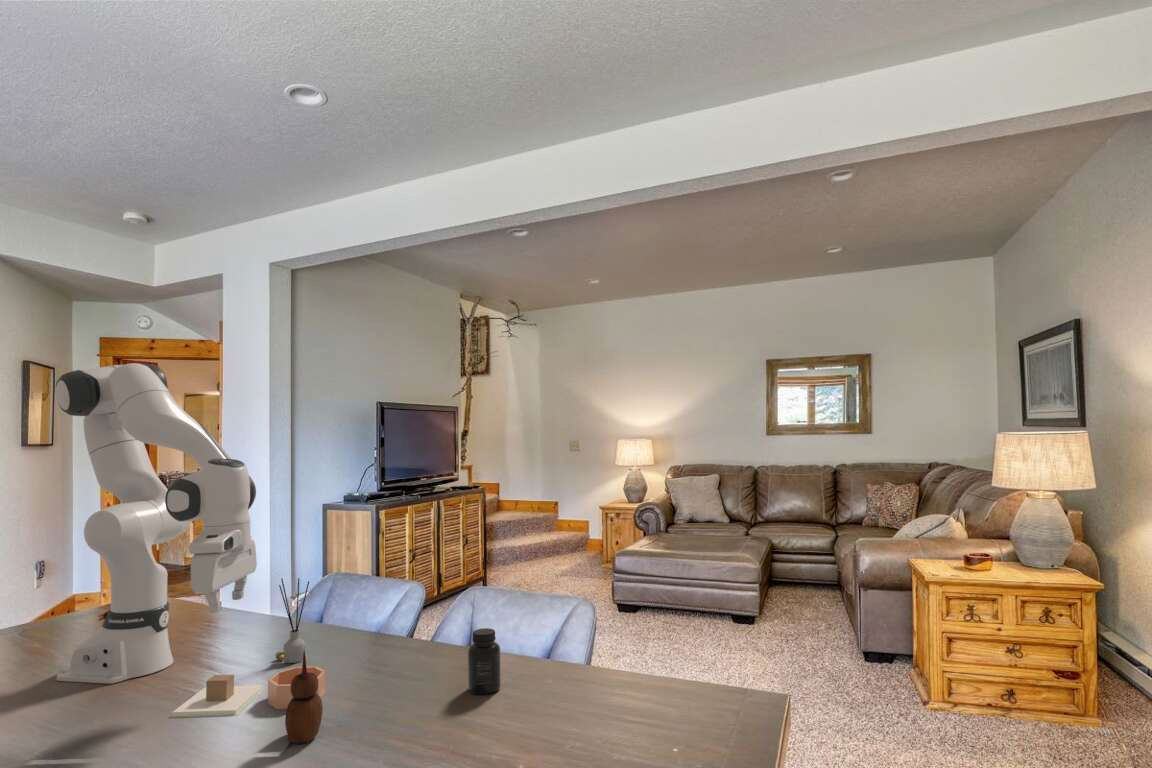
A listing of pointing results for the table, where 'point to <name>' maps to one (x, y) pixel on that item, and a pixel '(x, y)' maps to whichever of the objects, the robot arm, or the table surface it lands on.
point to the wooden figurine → (304, 707)
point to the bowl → (282, 685)
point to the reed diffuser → (292, 636)
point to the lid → (218, 698)
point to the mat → (222, 715)
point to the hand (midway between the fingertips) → (226, 605)
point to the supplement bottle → (484, 663)
